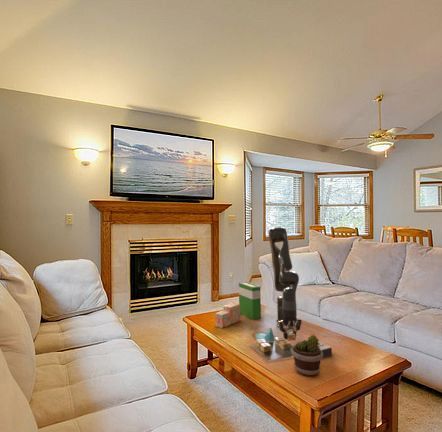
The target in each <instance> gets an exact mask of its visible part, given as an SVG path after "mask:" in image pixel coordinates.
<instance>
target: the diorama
mask: <svg viewBox="0 0 442 432" xmlns="http://www.w3.org/2000/svg"><path fill="white" fill-rule="evenodd" d="M273 333H274V332H273V330H272V327H269V330H267V331H266V333H256V334H255V335H254V338H255V339H256V340H258V339H264V340H265V341H269V342H274V341H275V336H274V334H273Z"/></svg>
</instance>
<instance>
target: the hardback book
mask: <svg viewBox="0 0 442 432" xmlns="http://www.w3.org/2000/svg"><path fill="white" fill-rule="evenodd" d="M261 293H262V292H261V286H260V285H257V284H255V283H251V282H249V281H245V282H238V304H240V315H241V316H244V317H247V318H248V319H250V320H253V321H255V320H258V319H262V302H261V301H262V300H261V298H262V297H261Z"/></svg>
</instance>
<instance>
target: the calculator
mask: <svg viewBox="0 0 442 432" xmlns="http://www.w3.org/2000/svg"><path fill="white" fill-rule="evenodd" d="M301 341H302V342H303V341H304V340H301ZM301 341H298V342H297V343H299V342H300V343H302V342H301ZM318 347H320V350H321V351H322V352H323V354H324V355H323V358H325V357H329V356H332V355H333V350H332V347H331V346H329V345H326V344H324V343H321V342H319V344H318Z"/></svg>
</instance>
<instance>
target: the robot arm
mask: <svg viewBox="0 0 442 432" xmlns="http://www.w3.org/2000/svg"><path fill="white" fill-rule="evenodd" d="M267 234H268V241H269V245H270V251H271V263H272V270H273V281H274V282H273V283H274V289H275V291H276V292H279V293H281V292H282V295H279V296H277V298H276V312H277V313H276V314H277V316H276V317H277V319H276V323H277V325H276V326H277V327H278V328H279V331H280V332H281V333H283V336H282V338H284V339H285V341H288V340H287V332H289V331H288V330H289V329H292V330H291V332H292V333H294V334H295V335H296V336H297V331H300V329H301V325H302V319H300V318H297V316H298V315H297V314H298V313H297V289H298V285H299V281H300V276H299V273H297V272H296V271H291V270H292V269H293V262H292V259H291V254H290V245H289V238H288V231H287V229H286V228H285V227H284V226H279V227H272V228H269V229H268V233H267ZM277 243H282V246H281V248H279V247H278V245H277Z"/></svg>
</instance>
